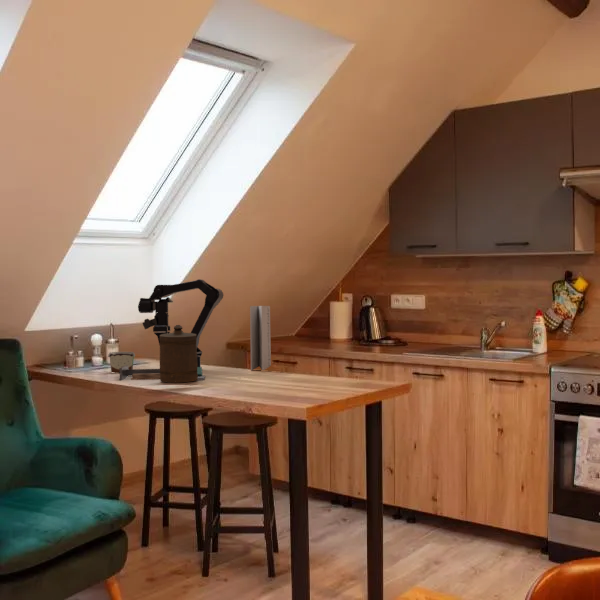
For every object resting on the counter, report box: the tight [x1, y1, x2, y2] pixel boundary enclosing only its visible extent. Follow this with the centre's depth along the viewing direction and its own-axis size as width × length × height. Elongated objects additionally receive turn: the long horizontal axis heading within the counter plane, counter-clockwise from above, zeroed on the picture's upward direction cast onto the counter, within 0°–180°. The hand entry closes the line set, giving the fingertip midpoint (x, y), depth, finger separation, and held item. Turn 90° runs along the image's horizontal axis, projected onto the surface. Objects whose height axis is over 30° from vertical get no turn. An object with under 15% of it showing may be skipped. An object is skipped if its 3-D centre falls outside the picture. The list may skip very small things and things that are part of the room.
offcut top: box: [131, 373, 160, 378], centre depth 329 cm, size 12×3×2 cm, turn 90°
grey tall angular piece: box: [249, 305, 272, 371], centre depth 349 cm, size 14×6×30 cm, turn 168°
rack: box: [119, 365, 160, 381], centre depth 336 cm, size 22×20×5 cm
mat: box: [196, 375, 206, 381], centre depth 323 cm, size 12×10×1 cm
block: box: [197, 366, 203, 376], centre depth 328 cm, size 10×3×7 cm
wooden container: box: [159, 324, 198, 384], centre depth 314 cm, size 15×15×22 cm
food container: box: [107, 351, 136, 372], centre depth 358 cm, size 12×6×10 cm, turn 84°
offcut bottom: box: [130, 377, 160, 381], centre depth 329 cm, size 13×4×2 cm, turn 92°
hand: (162, 347), depth 354 cm, fingers open, 9 cm apart
